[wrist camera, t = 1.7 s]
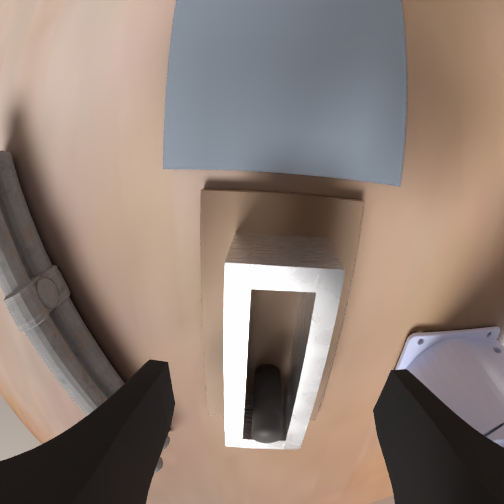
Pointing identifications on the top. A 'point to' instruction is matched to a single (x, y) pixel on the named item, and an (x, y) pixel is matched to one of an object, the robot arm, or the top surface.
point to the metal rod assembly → (48, 304)
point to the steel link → (305, 333)
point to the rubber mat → (288, 88)
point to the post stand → (267, 291)
